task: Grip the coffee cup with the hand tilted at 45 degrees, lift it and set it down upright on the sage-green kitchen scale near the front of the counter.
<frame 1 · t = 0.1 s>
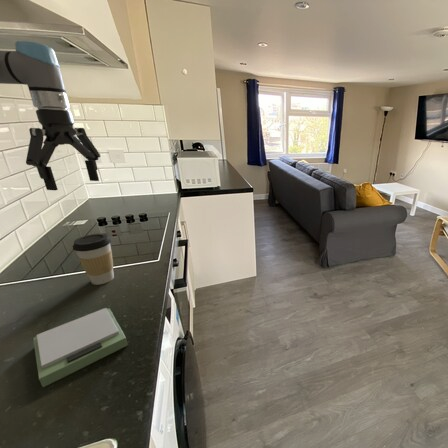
hand: (75, 185, 80), 31 cm above the table, tool pointing down, fingers open, 13 cm apart
kitchen scale: (82, 345, 62), on the table
coffee cup: (103, 279, 88), on the table
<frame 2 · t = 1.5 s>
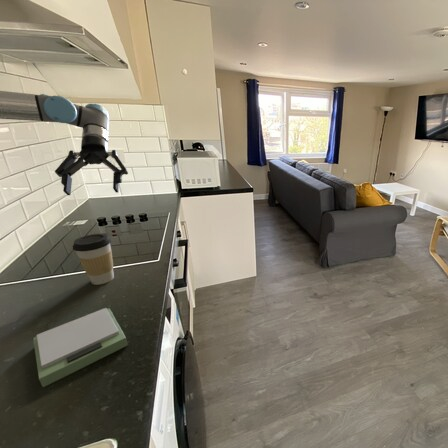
hand: (91, 191, 87), 28 cm above the table, tool tilted 45°, fingers open, 13 cm apart
nothing on the table moved.
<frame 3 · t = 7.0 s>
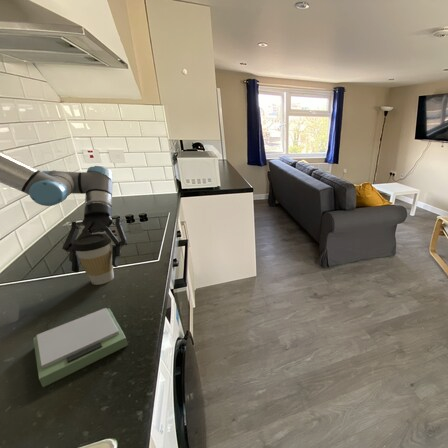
hand: (95, 268, 83), 6 cm above the table, tool tilted 45°, fingers closed on coffee cup, 10 cm apart
coffee cup: (103, 279, 88), on the table, touching gripper
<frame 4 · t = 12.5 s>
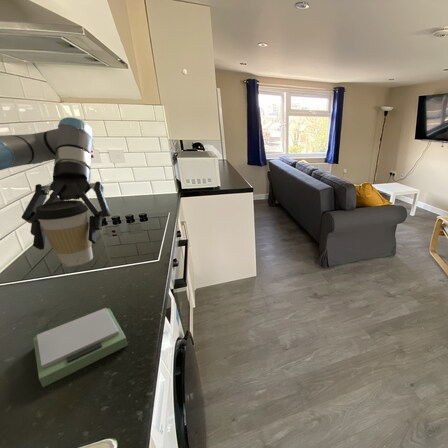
hand: (66, 244, 63), 22 cm above the table, tool tilted 45°, fingers closed on coffee cup, 10 cm apart
coffee cup: (78, 260, 68), point 16 cm above the table, touching gripper
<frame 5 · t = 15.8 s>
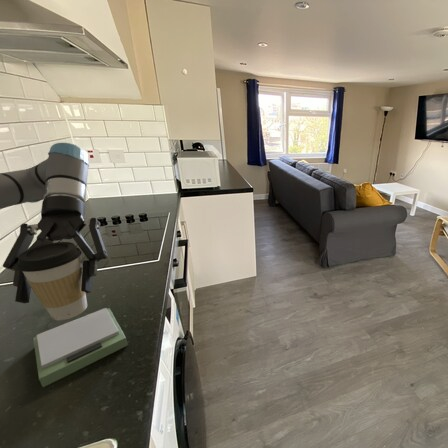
hand: (55, 296, 54), 16 cm above the table, tool tilted 45°, fingers closed on coffee cup, 10 cm apart
coffee cup: (70, 311, 58), point 10 cm above the table, touching gripper
when the fingers open (9 cm above the table, at t = 18.3 s): coffee cup stays where it is, resting on kitchen scale.
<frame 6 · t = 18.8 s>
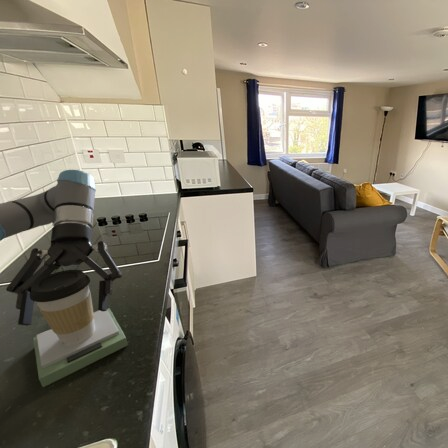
hand: (65, 317, 56), 10 cm above the table, tool tilted 45°, fingers open, 13 cm apart
coffee cup: (79, 335, 61), point 3 cm above the table, touching kitchen scale
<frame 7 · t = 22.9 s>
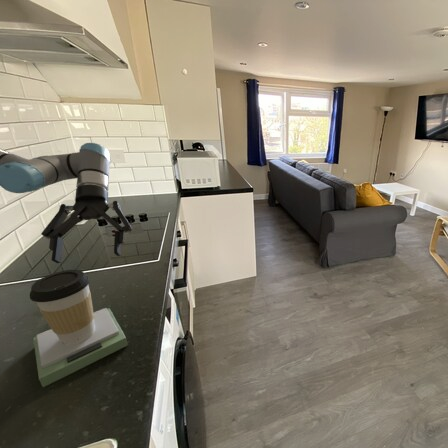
hand: (87, 258, 70), 16 cm above the table, tool tilted 45°, fingers open, 13 cm apart
nothing on the table moved.
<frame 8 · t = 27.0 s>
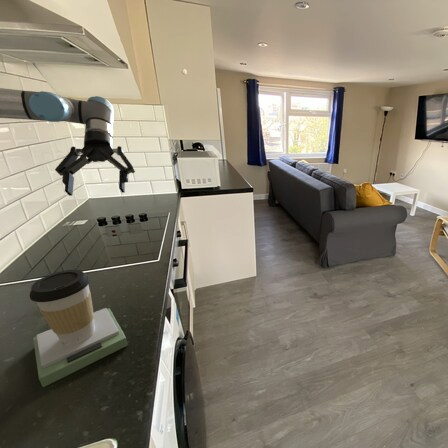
hand: (96, 191, 79), 30 cm above the table, tool tilted 45°, fingers open, 13 cm apart
nothing on the table moved.
at the end: coffee cup inside the target area on the kitchen scale (0.0 cm from its centre), point 3.0 cm above the kitchen scale's base; coffee cup tilted 0°; the gripper is holding nothing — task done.
